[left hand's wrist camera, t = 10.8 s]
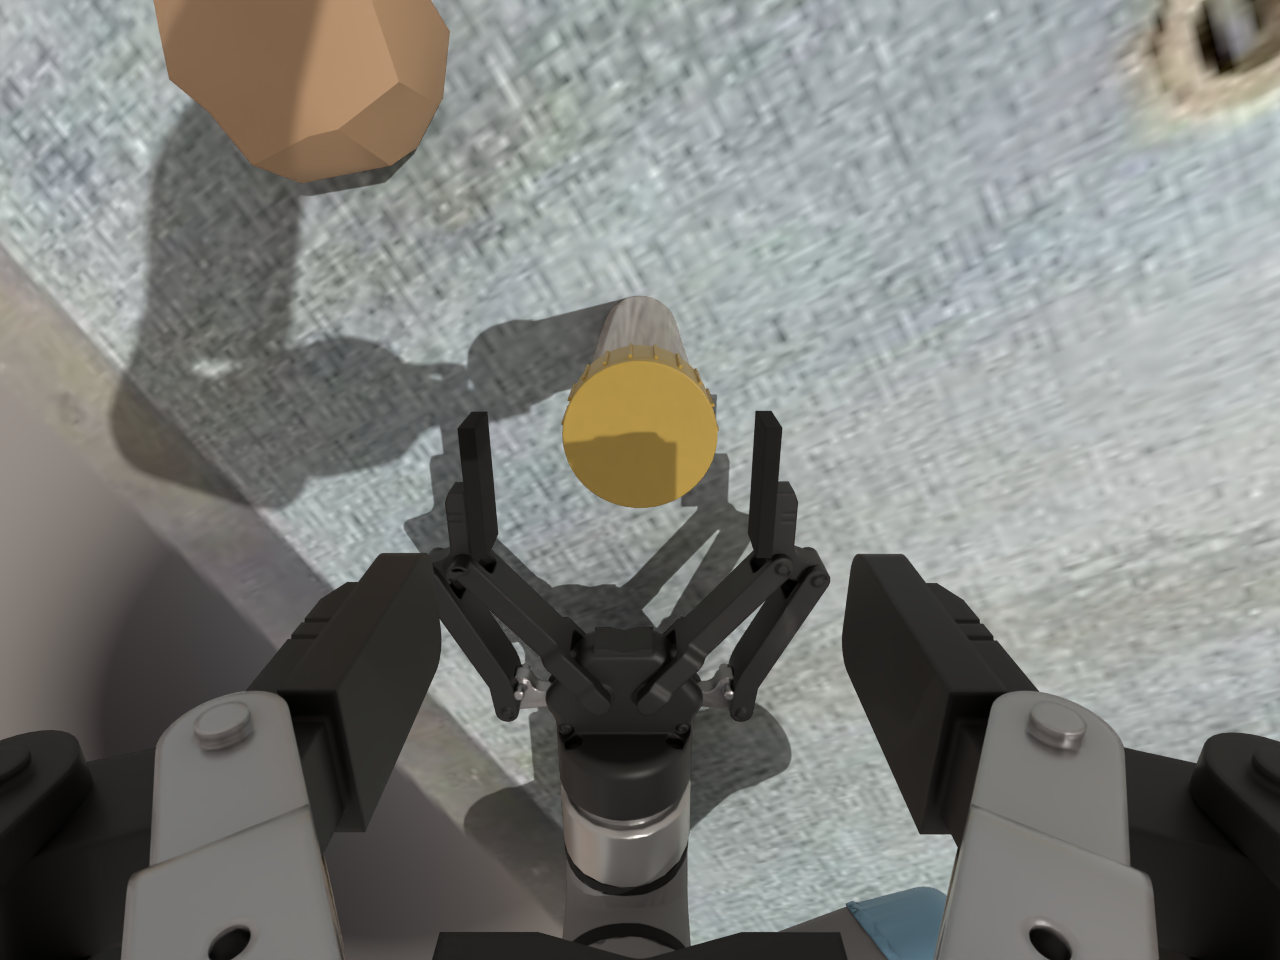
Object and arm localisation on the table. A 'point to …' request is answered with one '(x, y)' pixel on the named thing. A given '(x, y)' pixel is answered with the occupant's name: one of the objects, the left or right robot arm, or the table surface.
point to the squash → (310, 77)
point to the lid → (639, 427)
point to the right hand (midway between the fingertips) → (620, 418)
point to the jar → (639, 327)
